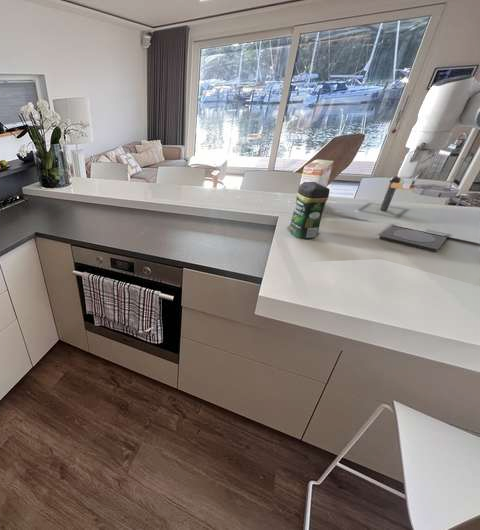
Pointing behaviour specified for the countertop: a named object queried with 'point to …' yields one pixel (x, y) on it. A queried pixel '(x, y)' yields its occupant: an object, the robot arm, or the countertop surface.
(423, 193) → the steel loop
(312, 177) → the coffeecake box
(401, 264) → the countertop surface
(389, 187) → the post
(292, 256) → the countertop surface
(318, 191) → the coffee jar
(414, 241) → the hob plate
